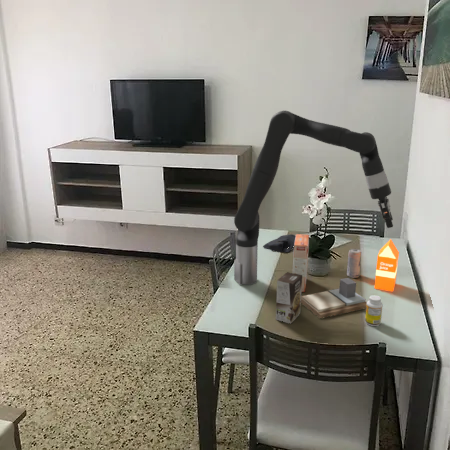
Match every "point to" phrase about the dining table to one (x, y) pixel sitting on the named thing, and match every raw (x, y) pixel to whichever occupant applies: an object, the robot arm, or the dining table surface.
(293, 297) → the coffee box
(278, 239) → the dark slate chunk
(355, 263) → the energy drink
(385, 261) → the orange juice
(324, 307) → the board
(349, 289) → the grey cube on base
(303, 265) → the cracker box
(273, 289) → the dining table surface
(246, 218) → the robot arm
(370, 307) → the supplement bottle
